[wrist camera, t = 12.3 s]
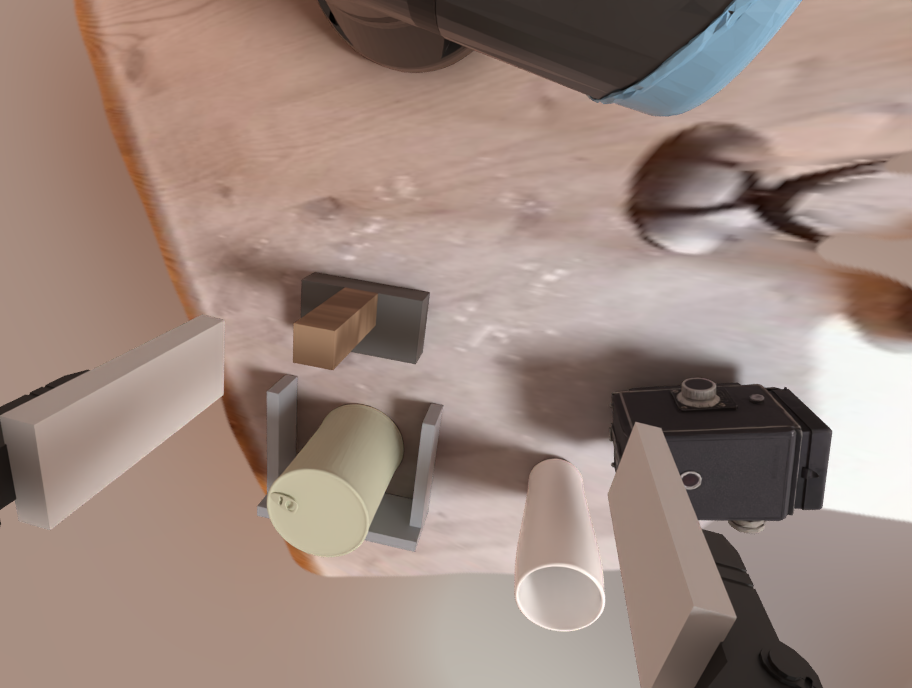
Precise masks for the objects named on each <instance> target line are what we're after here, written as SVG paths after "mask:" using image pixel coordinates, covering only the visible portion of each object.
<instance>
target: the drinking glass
mask: <svg viewBox="0 0 912 688" xmlns="http://www.w3.org/2000/svg"><path fill="white" fill-rule="evenodd" d="M514 592H515V593H514V595H515V600H516V603H517V606H518V608H519V609H520V611H521V612H522V613H523V614H524V616H525V617H526V618H528V619H529V620H530V621H532V622H533V623H535V624H537V625H539V626H541V627H543V628H546V629H550V630H554V631H574V630H579V629H582V628H585V627H587V626H588V625H590V624H592V623H593V622H594V621H595V620H597V619H598V617H599V616H600V615H601V613H602V611H603V609H604V605H605V591H604V577H603V569H602V562H601V557H600V552H599V547H598V543H597V539H596V536H595V532H594V528H593V524H592V520H591V516H590V512H589V508H588V504H587V500H586V496H585V492H584V485H583V479H582V476H581V474H580V472H579V470H578V469H577V468H576V467H575V466H574V465H573V464H571V463H570V462H568V461H565V460H562V459H547V460H544V461H542V462H540V463H538V464H537V465H536V466H535V467H534V468H533V469H532V471H531V473H530V475H529V480H528V491H527V497H526V503H525V508H524V513H523V519H522V524H521V529H520V534H519V539H518V545H517V552H516V561H515V591H514Z"/></svg>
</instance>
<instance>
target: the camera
mask: <svg viewBox="0 0 912 688" xmlns="http://www.w3.org/2000/svg"><path fill="white" fill-rule="evenodd" d="M609 407H610V408H613V423H611V428H609V432H610V441H613V444H614V463H612V464H611V466H612V467H615V472H616V471H617V469H618V466H619V464H620V461H621V458H622V456H623V453H624V450H625V448H626V445H627V443H628V440H629V437H630V435H631V432H632V430H633V427H634V424H635V422H638V423H642V424H646V425H650V426H654V427H658V428H661V429H662V432H663V434H664V437H665V439H666V442H667V444H668V447H669V449H670V452H671V454H672V457H673V459H674V462H675V464H676V467H677V469H678V472H679V474H680V477H681V479H682V482H683V484H684V487H685V489H686V492H687V494H688V497H689V499H690V502H691V504H692V507H693V509H694V512H695V514H696V517H697V519H698V520H728V523H729V524H730V525H731V527H733V528H734V529H736V530H738V531H739V532H744V533H749V534H757V533H759V532H761V531H763V530H764V527H765V521H780V520H783V519H784V518H786V516H787V515H793V513H794V508H795V509H796V508H798V509H802V510H820V509H821V508H822V506H823V499H824V491H825V483H826V475H827V468H828V460H829V452H830V445H831V437H832V430H831V429H830V428H829V427H828V426H827V425H826V424H825V423H824V422H823V421H822V420H821V419H820V418H819V417H818V416H816V415H815V414H814V413H813V412H812V411H811V410H810V409H809V408H808V407H807V406H806V405H805V404H804V403H803V402H802V401H801V400H800V399H799V398H797V397H796V396H795V395H794V394H793V393H792V392H791V391H790V390H789V389H787V387H784V389H779V388H775V387H770V388H764V387H763V386H762V385H759V384H751V385H740V384H739V383H723V384H715V383H714V382H713V381H711V380H708V379H705V378H689V379H686V380H684V381H683V382H682V386H666V387H646V388H635V389H629V391H621V392H613V393H612V403H611V404H609Z"/></svg>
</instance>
